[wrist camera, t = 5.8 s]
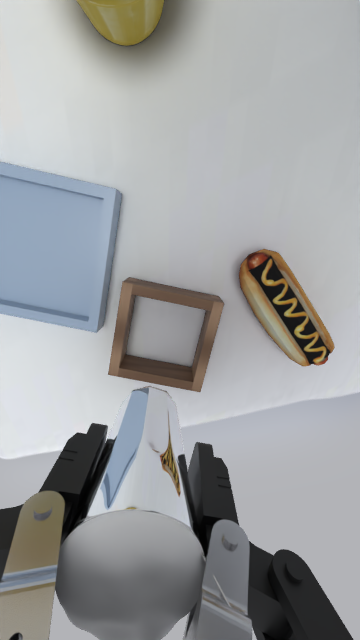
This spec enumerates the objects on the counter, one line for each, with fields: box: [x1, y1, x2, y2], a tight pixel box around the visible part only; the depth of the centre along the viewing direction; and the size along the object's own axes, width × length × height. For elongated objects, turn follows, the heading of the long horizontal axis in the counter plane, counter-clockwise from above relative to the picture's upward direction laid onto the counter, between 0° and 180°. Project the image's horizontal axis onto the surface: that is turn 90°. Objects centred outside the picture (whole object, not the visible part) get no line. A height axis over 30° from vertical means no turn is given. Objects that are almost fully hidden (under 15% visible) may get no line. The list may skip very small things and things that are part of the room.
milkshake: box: [55, 386, 231, 640], centre depth 11 cm, size 5×5×10 cm
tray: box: [0, 162, 122, 333], centre depth 27 cm, size 14×14×2 cm
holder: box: [108, 277, 224, 392], centre depth 29 cm, size 10×10×4 cm
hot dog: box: [239, 249, 334, 366], centre depth 27 cm, size 5×13×5 cm, turn 36°
